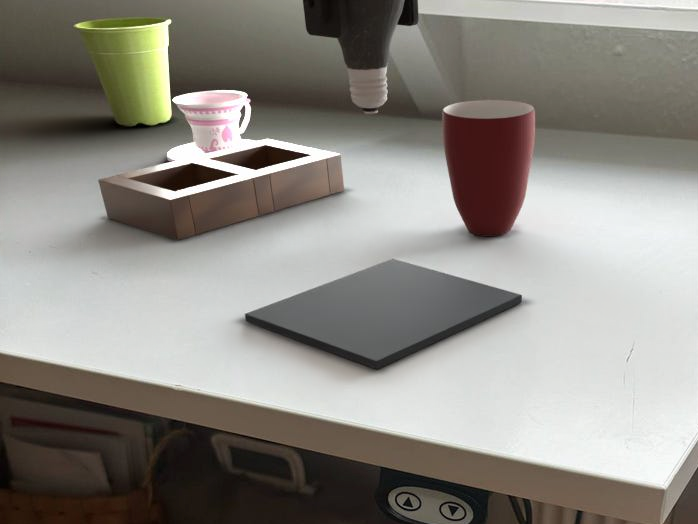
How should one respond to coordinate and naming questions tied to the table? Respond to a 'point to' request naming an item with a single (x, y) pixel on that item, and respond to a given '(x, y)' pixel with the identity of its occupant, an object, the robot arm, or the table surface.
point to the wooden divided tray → (221, 187)
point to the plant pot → (131, 66)
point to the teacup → (212, 122)
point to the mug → (488, 161)
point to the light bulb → (369, 49)
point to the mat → (383, 311)
